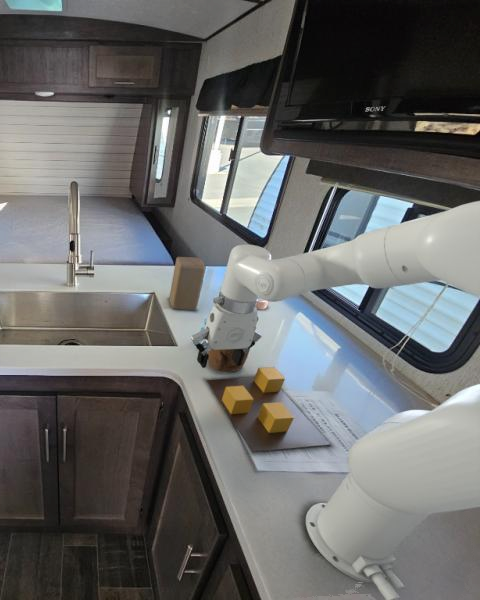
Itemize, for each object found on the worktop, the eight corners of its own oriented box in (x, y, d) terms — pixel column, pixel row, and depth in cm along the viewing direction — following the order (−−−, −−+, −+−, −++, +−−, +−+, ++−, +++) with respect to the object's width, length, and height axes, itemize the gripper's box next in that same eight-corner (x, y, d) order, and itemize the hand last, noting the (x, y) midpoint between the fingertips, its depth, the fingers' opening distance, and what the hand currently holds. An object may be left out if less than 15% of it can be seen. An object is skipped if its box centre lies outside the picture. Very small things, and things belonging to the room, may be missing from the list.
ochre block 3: (287, 431, 80) (294, 417, 78) (269, 433, 80) (275, 419, 77) (274, 415, 85) (280, 402, 82) (257, 416, 84) (262, 403, 82)
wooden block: (191, 299, 140) (201, 257, 130) (196, 311, 131) (207, 266, 122) (168, 298, 141) (176, 255, 131) (172, 309, 132) (180, 265, 122)
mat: (330, 445, 77) (330, 444, 77) (252, 452, 75) (253, 451, 75) (268, 376, 98) (268, 375, 98) (206, 380, 96) (206, 379, 96)
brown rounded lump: (229, 355, 107) (245, 303, 97) (245, 370, 100) (264, 316, 91) (201, 361, 104) (215, 308, 94) (216, 376, 98) (233, 321, 88)
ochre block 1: (248, 412, 85) (253, 399, 83) (230, 414, 85) (235, 400, 82) (238, 398, 90) (243, 385, 87) (221, 399, 89) (225, 386, 87)
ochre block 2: (279, 391, 92) (285, 378, 90) (263, 392, 92) (268, 379, 89) (268, 379, 97) (274, 366, 94) (253, 380, 96) (258, 367, 94)
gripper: (206, 312, 66) (190, 376, 74) (284, 308, 68) (260, 371, 76) (191, 295, 73) (178, 355, 81) (263, 292, 74) (243, 351, 83)
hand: (218, 363), depth 79 cm, fingers open, 8 cm apart
